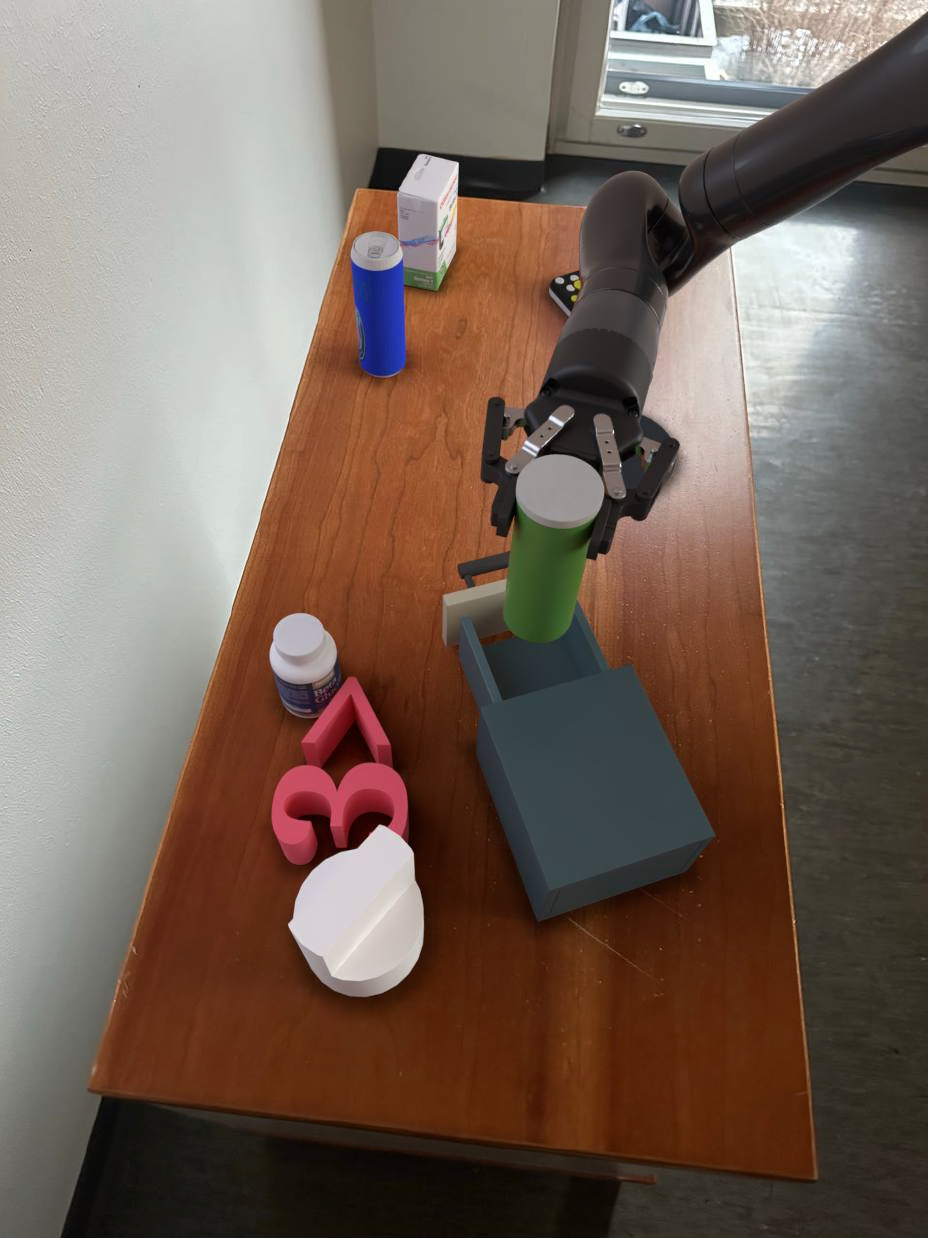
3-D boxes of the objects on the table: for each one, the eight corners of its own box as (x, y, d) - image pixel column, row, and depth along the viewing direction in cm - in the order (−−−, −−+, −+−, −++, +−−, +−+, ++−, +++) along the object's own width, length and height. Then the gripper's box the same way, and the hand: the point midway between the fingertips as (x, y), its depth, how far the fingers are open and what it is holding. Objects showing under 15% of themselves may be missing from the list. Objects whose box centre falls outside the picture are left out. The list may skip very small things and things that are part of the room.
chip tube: (557, 576, 71) (584, 445, 59) (584, 633, 69) (618, 509, 56) (491, 593, 70) (504, 464, 58) (516, 652, 68) (534, 530, 55)
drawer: (428, 599, 82) (427, 555, 76) (543, 570, 84) (551, 525, 79) (491, 771, 73) (497, 736, 68) (618, 732, 76) (634, 695, 70)
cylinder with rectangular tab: (361, 850, 70) (349, 793, 60) (448, 925, 68) (451, 879, 57) (278, 940, 67) (250, 896, 56) (367, 1025, 64) (355, 994, 54)
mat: (646, 402, 98) (647, 398, 98) (694, 482, 92) (696, 478, 92) (544, 425, 96) (544, 421, 95) (587, 508, 90) (588, 505, 89)
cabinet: (475, 753, 75) (480, 706, 68) (612, 712, 78) (631, 663, 70) (537, 922, 68) (550, 890, 61) (686, 871, 70) (715, 835, 63)
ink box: (437, 292, 107) (438, 201, 97) (398, 284, 108) (395, 192, 98) (457, 250, 111) (460, 158, 101) (419, 242, 112) (418, 150, 102)
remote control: (600, 356, 102) (603, 342, 100) (543, 291, 108) (545, 277, 106) (645, 340, 103) (648, 326, 102) (587, 277, 109) (589, 263, 108)
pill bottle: (327, 729, 76) (314, 673, 68) (270, 708, 77) (250, 651, 69) (353, 676, 79) (344, 617, 70) (298, 657, 80) (282, 596, 71)
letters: (300, 702, 77) (292, 674, 73) (417, 707, 77) (416, 679, 73) (276, 864, 70) (266, 843, 65) (406, 869, 70) (404, 849, 65)
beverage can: (363, 346, 101) (354, 226, 89) (408, 350, 101) (405, 231, 89) (356, 378, 99) (345, 259, 86) (402, 382, 99) (398, 264, 86)
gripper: (511, 304, 64) (441, 475, 55) (710, 348, 62) (670, 532, 53) (504, 384, 70) (440, 548, 62) (685, 425, 68) (645, 601, 60)
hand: (547, 539), depth 58 cm, fingers closed on chip tube, 5 cm apart
